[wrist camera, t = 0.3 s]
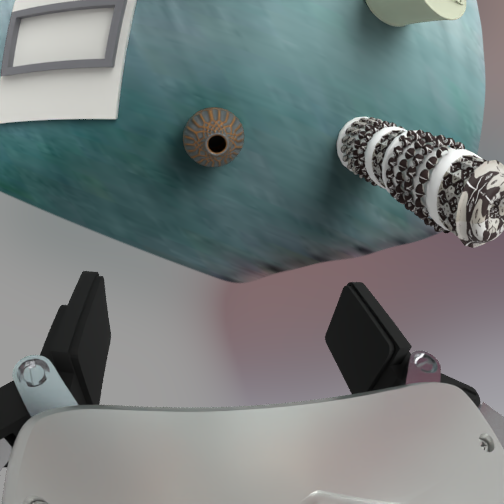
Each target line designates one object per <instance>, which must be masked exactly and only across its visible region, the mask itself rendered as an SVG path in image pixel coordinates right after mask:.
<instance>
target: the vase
mask: <svg viewBox="0 0 504 504" xmlns="http://www.w3.org/2000/svg"><path fill="white" fill-rule="evenodd" d="M183 143H184V147H185V150H186V152H187V153H188V155H189V156H190V157H191V158H192V159H193V160H194V161H195V162H197V163H199V164H201V165H203V166H207V167H219V166H223V165H226V164H228V163H229V162H231V161H232V160H234V159H235V158H236V157H237V155H238V154H239V153H240V151H241V149H242V146H243V143H244V130H243V127H242V124H241V122H240V121H239V119H238V118H237V117H236V116H235V115H234V114H233V113H231V112H230V111H228V110H225V109H222V108H217V107H211V108H206V109H203V110H200V111H198V112H197V113H195V114H194V115H193V116H192V117H191V118H190V119H189V120H188V122H187V124H186V126H185V128H184V132H183Z"/></svg>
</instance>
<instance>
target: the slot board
mask: <svg viewBox="0 0 504 504" xmlns="http://www.w3.org/2000/svg"><path fill="white" fill-rule="evenodd" d="M136 3H137V0H15V3H14V6H13V10H12V14H11V18H10V22H9V27H8V32H7V37H6V42H5V48H4V54H3V61H2V69H1V79H0V123H9V122H21V121H36V120H57V119H117V118H118V109H119V100H120V92H121V84H122V77H123V70H124V64H125V58H126V52H127V46H128V41H129V35H130V30H131V26H132V21H133V16H134V12H135V8H136Z"/></svg>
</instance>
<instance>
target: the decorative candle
mask: <svg viewBox="0 0 504 504" xmlns="http://www.w3.org/2000/svg"><path fill="white" fill-rule="evenodd" d="M448 145H449V146H450V147H448ZM337 154H338V156H339V158H340V160H341V162H342V164H343V165H344V166H345V167H346V168H348V169H349V170H350V171H353V172H354V174H355V175H357V174H359V177H360V178H363V177H364V178H365V180H366V181H367V182H371V184H372V185H373V186H376V185H379V186H380V187H381V188H385V189H387V191H388V192H389V193H390V194H391V196H392V197H394V198H395V199H397V201H398V202H400V203H401V204H405V208H406V209H407V210H410V211H412V212H414V214H415V215H416V216H418V217H419V218H420V219H422V220H424V223H425V224H426V225H430V226H434V229H435V231H436V232H438V231H439V232H440V231H442V230H443V232H444V233H448V232H450V231H451V232H452V233H454V234H455V235H456V236H458V237H459V239H460V240H461V241H462V243H463V244H464V245H465V246H469V247H473V248H474V247H477V246H480V245H482V244H485V243H486V242H489V241H491V240H494V239H495V238H496V237H498V236H499V235H500V234H501V233H502V231H503V230H504V165H503V164H501V163H500V162H498V161H497V160H494V161H486V160H484V159H482V158H480V157H479V156H477V155H476V154H474V153H472V152H470V151H469V150H465V146H464V145H463V144H462V143H461V142H456V143H455V141H454V140H453V139H452V138H447V139H446V138H445V137H444V136H443V135H439V136H432V134H431V133H430V132H426V133H424V132H423V131H422V130H418V131H417V130H416V131H412V130H409V131H407V130H404V128H403V127H401V126H399V127H397V126H396V124H394V123H390V124H389V122H387V121H384V122H383V121H382V120H380V119H375V118H372V117H370V118H368V117H356V118H354V119H352V120H350V121H349V122H347V123H346V124H345V125H344V127H343V128H342V129H341V131H340V132H339V136H338V139H337ZM429 216H431V217H432V219H430V218H427V217H429Z"/></svg>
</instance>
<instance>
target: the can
mask: <svg viewBox="0 0 504 504" xmlns="http://www.w3.org/2000/svg"><path fill="white" fill-rule="evenodd" d="M366 3H367V5H368V7H369V8H370V10H371V11H372V12H373V14H374V15H375V16H376V17H377V18H378V19H380V20H381V21H383V22H384V23H386V24H388V25H391V26H396V27H402V26H405V25H408V24H414V23H420V22H428V21H438V20H456V19H459V18H460V17H461V16H462V15H463V14H464V12H465V9H466V0H366Z"/></svg>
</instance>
